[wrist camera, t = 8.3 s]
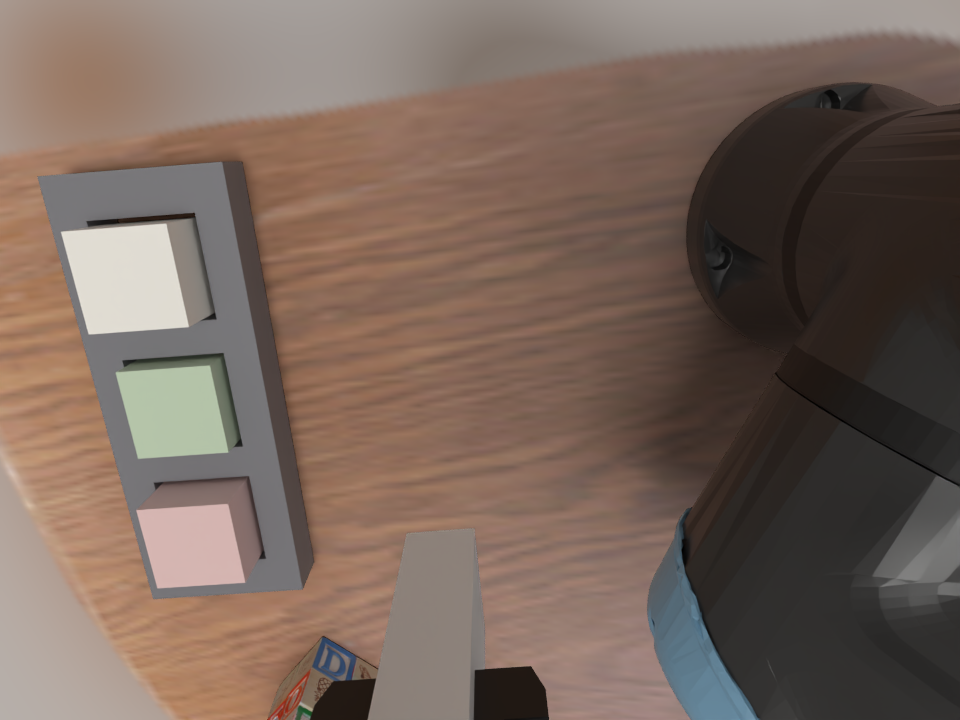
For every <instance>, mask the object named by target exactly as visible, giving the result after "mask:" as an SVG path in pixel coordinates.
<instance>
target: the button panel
mask: <svg viewBox="0 0 960 720" xmlns="http://www.w3.org/2000/svg"><path fill="white" fill-rule="evenodd" d="M37 177H38V181H39V184H40V188H41V191H42V195H43V199H44V202H45V206H46V210H47V213H48V217H49V221H50V224H51V228H52V232H53V235H54V239H55V243H56V246H57V250H58V253H59V257H60V261H61V264H62V268H63V272H64V275H65V279H66V283H67V286H68V290H69V294H70V297H71V301H72V304H73V308H74V312H75V315H76V319H77V323H78V326H79V330H80V334H81V337H82V341H83V345H84V348H85V352H86V355H87V359H88V363H89V366H90V370H91V374H92V377H93V381H94V385H95V388H96V392H97V396H98V399H99V403H100V407H101V410H102V414H103V417H104V421H105V425H106V428H107V432H108V436H109V439H110V443H111V447H112V450H113V454H114V458H115V461H116V465H117V468H118V472H119V476H120V479H121V483H122V487H123V490H124V494H125V498H126V501H127V505H128V509H129V512H130V516H131V520H132V523H133V527H134V530H135V534H136V538H137V541H138V545H139V549H140V552H141V556H142V560H143V563H144V567H145V571H146V574H147V578H148V581H149V585H150V589H151V592H152V596H153V599H162V598H178V597H193V596H209V595H224V594H239V593H255V592H270V591H286V590H301V589H303V588H304V585H305V583H306V580H307V578H308V575H309V573H310V571H311V568H312V566H313V563H314V559H313V553H312V547H311V542H310V536H309V531H308V525H307V520H306V514H305V508H304V503H303V497H302V492H301V486H300V481H299V475H298V470H297V464H296V458H295V453H294V447H293V442H292V436H291V431H290V425H289V419H288V414H287V408H286V403H285V397H284V392H283V386H282V380H281V375H280V369H279V364H278V358H277V353H276V347H275V342H274V336H273V330H272V325H271V319H270V314H269V308H268V303H267V297H266V291H265V286H264V280H263V275H262V269H261V264H260V258H259V253H258V247H257V241H256V236H255V230H254V225H253V219H252V214H251V208H250V202H249V197H248V191H247V186H246V180H245V175H244V169H243V163H242V162H213V163H200V164H188V165H175V166H163V167H150V168H138V169H125V170H113V171H100V172H87V173H75V174H62V175H50V176H37ZM184 213H195V216H196V221H197V226H198V231H199V236H200V241H201V245H202V250H203V255H204V260H205V265H206V270H207V274H208V279H209V284H210V289H211V294H212V299H213V304H214V308H215V313H213V314H211V315H209V316H208V317H206V318H204V319H202V320H201V321H199V322H197V323H195V324H194V325H192V326H190V327H185V328H171V329H158V330H144V331H131V332H117V333H104V334H90V335H89V334H88V330H87V327H86V323H85V319H84V315H83V312H82V308H81V304H80V301H79V297H78V293H77V290H76V286H75V282H74V279H73V275H72V271H71V267H70V264H69V260H68V256H67V253H66V249H65V245H64V242H63V238H62V234H61V232H62V231H68V230H74V229H80V228H86V227H92V226H98V225H104V224H115V223H118V221H117V219H120V218H133V217H145V216H158V215H171V214H184ZM215 353H224V357H225V362H226V367H227V372H228V376H229V381H230V386H231V391H232V396H233V401H234V406H235V410H236V415H237V420H238V425H239V430H240V435H241V439H240V440H239V441H238V442H237V443H236V444H235V446H234V447H233V448H232V449H231V450H230V451H229V453H215V454H200V455H186V456H172V457H157V458H143V459H138V456H137V453H136V449H135V445H134V441H133V437H132V434H131V430H130V426H129V422H128V418H127V414H126V411H125V407H124V403H123V399H122V395H121V392H120V388H119V384H118V380H117V376H116V372H117V371H119V370H120V369H122V368H124V367H126V366H127V365H129V364H131V363H132V362H134V361H136V360H138V359H147V358H161V357H174V356H188V355H202V354H215ZM242 476H249V478H250V483H251V488H252V493H253V498H254V503H255V508H256V512H257V517H258V522H259V527H260V532H261V537H262V542H263V546H264V550H263V552H262V554H261V556H260V557H259V559H258V561H257V563H256V565H255V566H254V568H253V570H252V572H251V574H250V575H249V577H248V579H247V581H246V583H234V584H218V585H203V586H188V587H172V588H157V585H156V581H155V578H154V574H153V570H152V567H151V563H150V559H149V555H148V552H147V548H146V544H145V541H144V537H143V533H142V530H141V526H140V522H139V518H138V515H137V511H136V510H137V509H138V508H139V507H140V506H141V505H142V504H143V503H144V502H145V501H146V500H147V499H148V498H149V497H150V496H151V495H152V494H153V493H154V492H155V491H156V490H157V489H158V488H159V487H160V486H161V484H162V483H163V482H169V481H184V480H198V479H213V478H227V477H242Z"/></svg>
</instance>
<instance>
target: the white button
mask: <svg viewBox="0 0 960 720" xmlns="http://www.w3.org/2000/svg"><path fill="white" fill-rule="evenodd" d="M61 234H62V238H63V242H64V245H65V249H66V253H67V256H68V260H69V264H70V267H71V271H72V275H73V279H74V282H75V286H76V290H77V293H78V297H79V301H80V304H81V308H82V312H83V315H84V319H85V323H86V327H87V330H88V334H89V335H90V334H104V333H117V332H131V331H144V330H158V329H171V328H185V327H190V326H192V325H194V324H195V323H197V322H199V321H201V320H202V319H204V318H206V317H208V316H209V315H211V314H213V313H215V308H214V304H213V299H212V294H211V289H210V284H209V279H208V274H207V270H206V265H205V260H204V255H203V250H202V245H201V241H200V236H199V231H198V226H197V221H196V217H192V218H179V219H166V220H153V221H140V222H128V223H115V224H104V225H98V226H92V227H86V228H80V229H74V230H68V231H62V232H61Z"/></svg>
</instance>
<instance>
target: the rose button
mask: <svg viewBox="0 0 960 720" xmlns="http://www.w3.org/2000/svg"><path fill="white" fill-rule="evenodd" d="M136 511H137V515H138V518H139V522H140V526H141V530H142V533H143V537H144V541H145V544H146V548H147V552H148V555H149V559H150V563H151V567H152V570H153V574H154V578H155V581H156V585H157V588H172V587H188V586H203V585H218V584H234V583H246V581H247V579H248V577H249V575H250V574H251V572H252V570H253V568H254V566H255V565H256V563H257V561H258V559H259V557H260V556H261V554H262V552H263V550H264V546H263V542H262V537H261V532H260V527H259V522H258V517H257V512H256V508H255V503H254V498H253V493H252V488H251V483H250V478H249V476H242V477H227V478H213V479H198V480H184V481H169V482H163V483H162V484H161V486H160V487H159V488H158V489H157V490H156V491H155V492H154V493H153V494H152V495H151V496H150V497H149V498H148V499H147V500H146V501H145V502H144V503H143V504H142V505H141V506H140V507H139V508H138V509H137V510H136Z"/></svg>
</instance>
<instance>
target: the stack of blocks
mask: <svg viewBox="0 0 960 720" xmlns="http://www.w3.org/2000/svg"><path fill="white" fill-rule="evenodd" d="M377 673H378V669H376V668H374V667H373V666H371V665H369V664H368V663H366V662H365V661H363V660H361V659H360V658H358V657H355V656H354V655H353V654H352V653H350V652H348V651H346V650H345V649H343V648H342V647H340V646H338V645H336V644H335V643H333V642H331V641H330V640H328V639H327V638H325V637H322V638H321V639H320V640H319V641H318V643H317V644H316V645H315V646H314V647H313V648H312V650H311V651H310V652H309V653H308V654H307V655H306V656H305V657H304V659H303V660H302V661H301V662H300V663H299V664H298V665H297V666H296V667H295V668H294V670H293V671H292V672H291V673H290V674H289V675H288V677H287V678H286V679H285V680H284V681H283V683H282V684H281V685H280V687H279V689H278V691H277V694H276V696H275V699H274V702H273V704H272V708H271V710H270V713H269V716H268V719H267V720H310V717H311V714H312V711H313V708H314V705H315V704H316V703H317V702H318V700H319V699H320V698H321V696H322V695H323V694H324V692H325V691H326V690H327V689H328V687H329V686H330V685H331V683H332V682H333V681H344V680H359V679H374V678H377Z"/></svg>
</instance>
